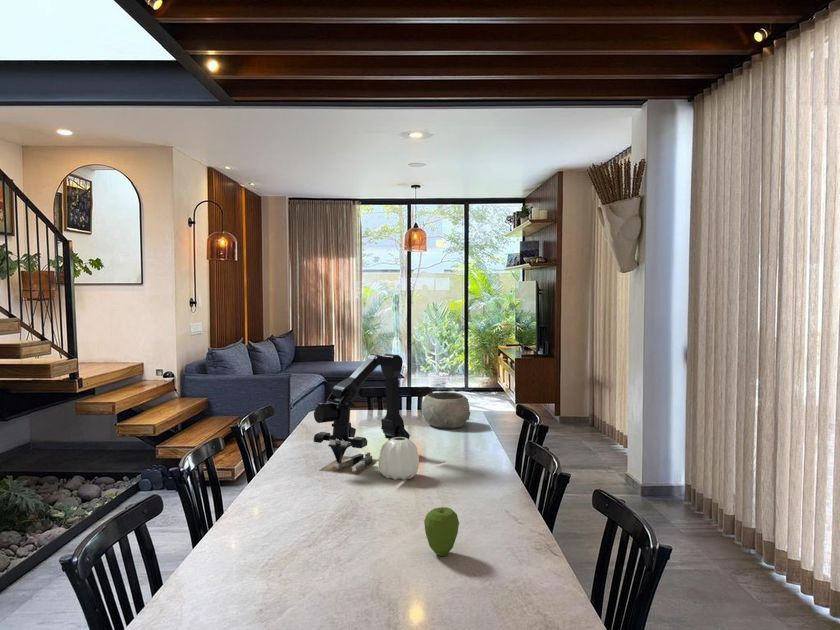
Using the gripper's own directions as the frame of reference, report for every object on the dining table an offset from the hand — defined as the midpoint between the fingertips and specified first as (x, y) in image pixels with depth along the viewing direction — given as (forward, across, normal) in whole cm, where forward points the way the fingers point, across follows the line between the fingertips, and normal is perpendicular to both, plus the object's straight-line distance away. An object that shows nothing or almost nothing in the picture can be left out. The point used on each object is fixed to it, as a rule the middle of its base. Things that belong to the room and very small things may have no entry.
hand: (339, 463), depth 213 cm
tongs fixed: (+1, -7, -5) cm, 9 cm away
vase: (+1, -23, +1) cm, 23 cm away
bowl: (-1, -16, -83) cm, 85 cm away
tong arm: (+1, -2, -4) cm, 5 cm away
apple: (+2, -54, +54) cm, 76 cm away
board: (+2, -2, -4) cm, 5 cm away
